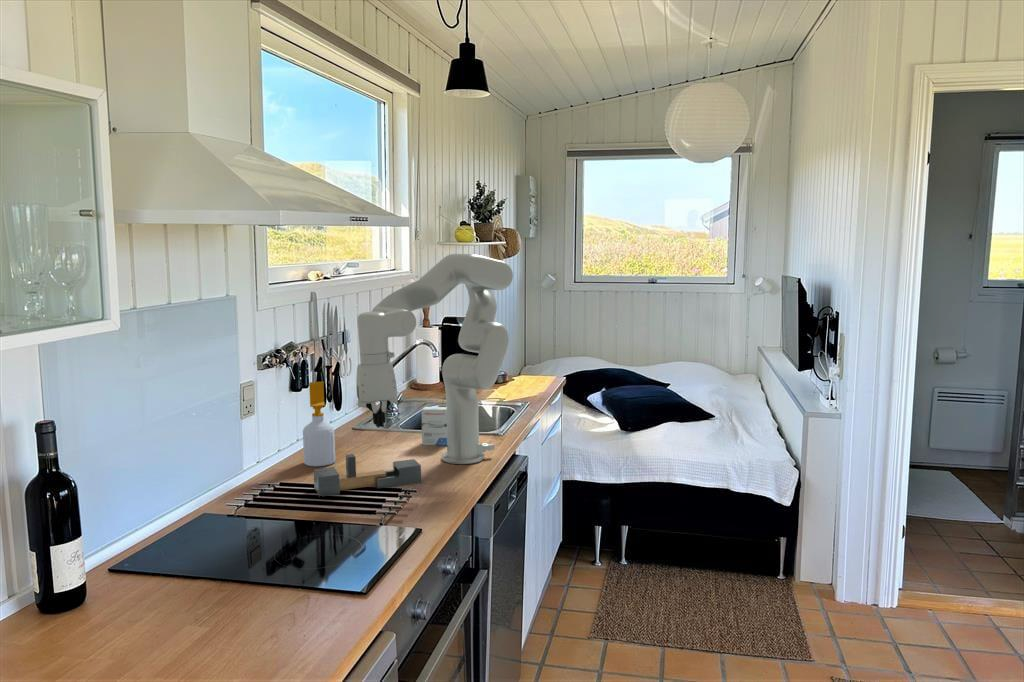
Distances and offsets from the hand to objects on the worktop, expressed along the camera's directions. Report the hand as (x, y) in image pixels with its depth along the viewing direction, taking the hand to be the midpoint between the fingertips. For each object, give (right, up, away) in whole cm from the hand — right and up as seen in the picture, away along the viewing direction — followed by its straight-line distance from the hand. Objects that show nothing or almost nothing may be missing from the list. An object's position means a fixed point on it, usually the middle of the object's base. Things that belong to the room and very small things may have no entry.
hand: (379, 425), depth 208 cm
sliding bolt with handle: (-6, -16, -1) cm, 17 cm away
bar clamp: (-2, -16, +1) cm, 16 cm away
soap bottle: (-21, -14, +22) cm, 34 cm away
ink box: (+11, -11, +42) cm, 45 cm away
